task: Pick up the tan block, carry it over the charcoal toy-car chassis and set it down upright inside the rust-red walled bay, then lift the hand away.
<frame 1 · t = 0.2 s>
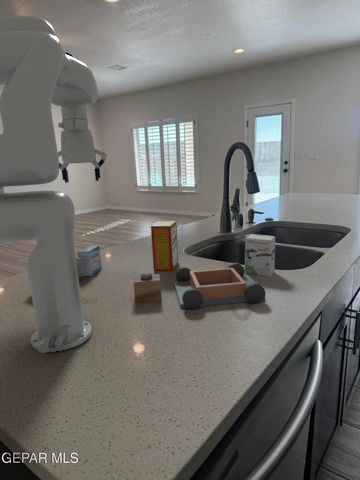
hand: (82, 181, 109), 31 cm above the worktop, tool pointing down, fingers open, 9 cm apart
chassis: (216, 292, 93), on the worktop
baking soda box: (166, 267, 117), on the worktop
food item: (61, 285, 105), on the worktop
ink box: (259, 272, 107), on the worktop
medicine box: (91, 273, 115), on the worktop
tan block: (148, 298, 91), on the worktop
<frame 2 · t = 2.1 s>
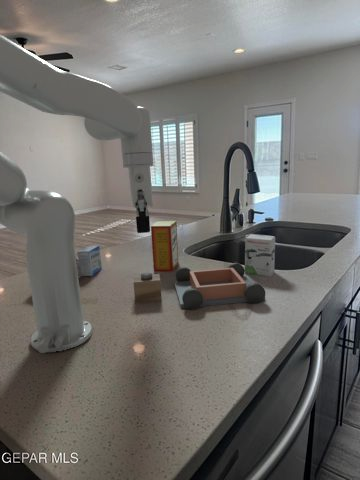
hand: (143, 228, 87), 19 cm above the worktop, tool pointing down, fingers open, 9 cm apart
nothing on the worktop moved.
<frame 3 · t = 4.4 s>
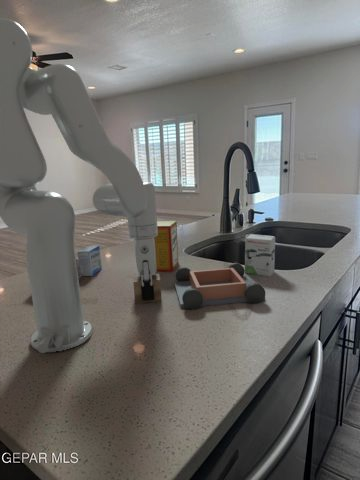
hand: (148, 295, 91), 1 cm above the worktop, tool pointing down, fingers closed on tan block, 5 cm apart
tan block: (148, 298, 91), on the worktop, touching gripper
everything else where it was.
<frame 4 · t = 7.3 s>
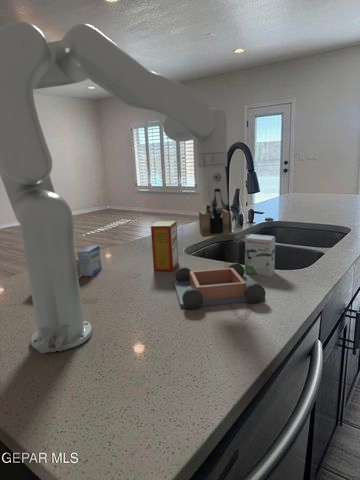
hand: (214, 230, 89), 18 cm above the worktop, tool pointing down, fingers closed on tan block, 5 cm apart
tan block: (214, 233, 89), point 17 cm above the worktop, touching gripper
everything else where it was.
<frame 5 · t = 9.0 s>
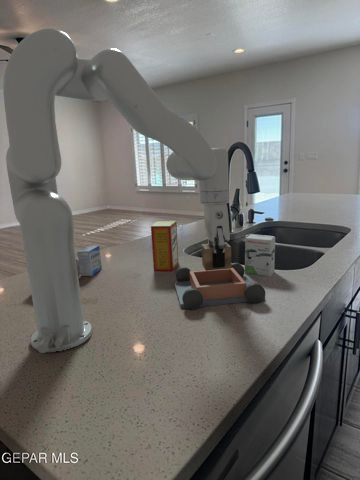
hand: (216, 263, 91), 8 cm above the worktop, tool pointing down, fingers closed on tan block, 5 cm apart
tan block: (216, 266, 91), point 7 cm above the worktop, touching gripper
everything else where it was.
when the fingers open (4 cm above the worktop, at t = 10.2 s): tan block drops 2 cm, resting on chassis.
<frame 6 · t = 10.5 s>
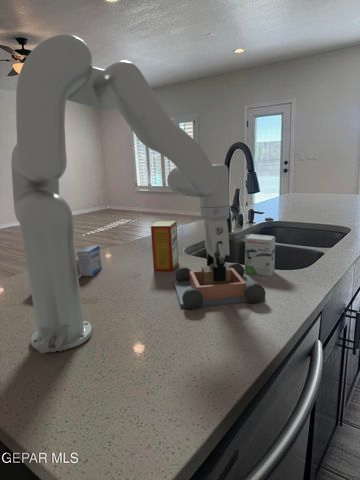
hand: (216, 275, 92), 5 cm above the worktop, tool pointing down, fingers open, 8 cm apart
tan block: (216, 288, 93), point 1 cm above the worktop, touching chassis
everything else where it was.
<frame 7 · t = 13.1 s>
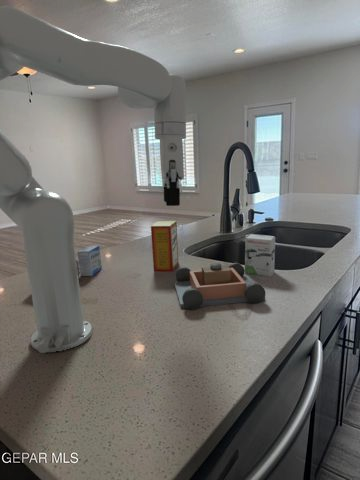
hand: (171, 203, 84), 26 cm above the worktop, tool pointing down, fingers open, 9 cm apart
nothing on the worktop moved.
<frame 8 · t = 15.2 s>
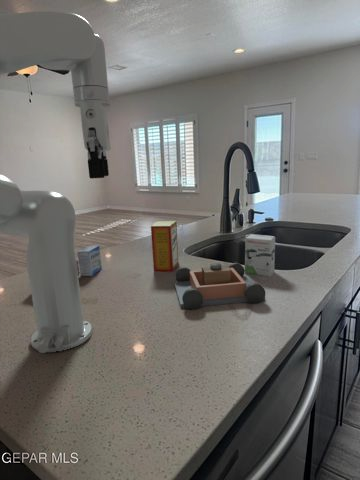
hand: (99, 177, 78), 33 cm above the worktop, tool pointing down, fingers open, 9 cm apart
nothing on the worktop moved.
at the end: tan block 0.1 cm off-centre on the chassis, point 1.0 cm above the chassis's base; tan block tilted 0°; the gripper is holding nothing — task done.
